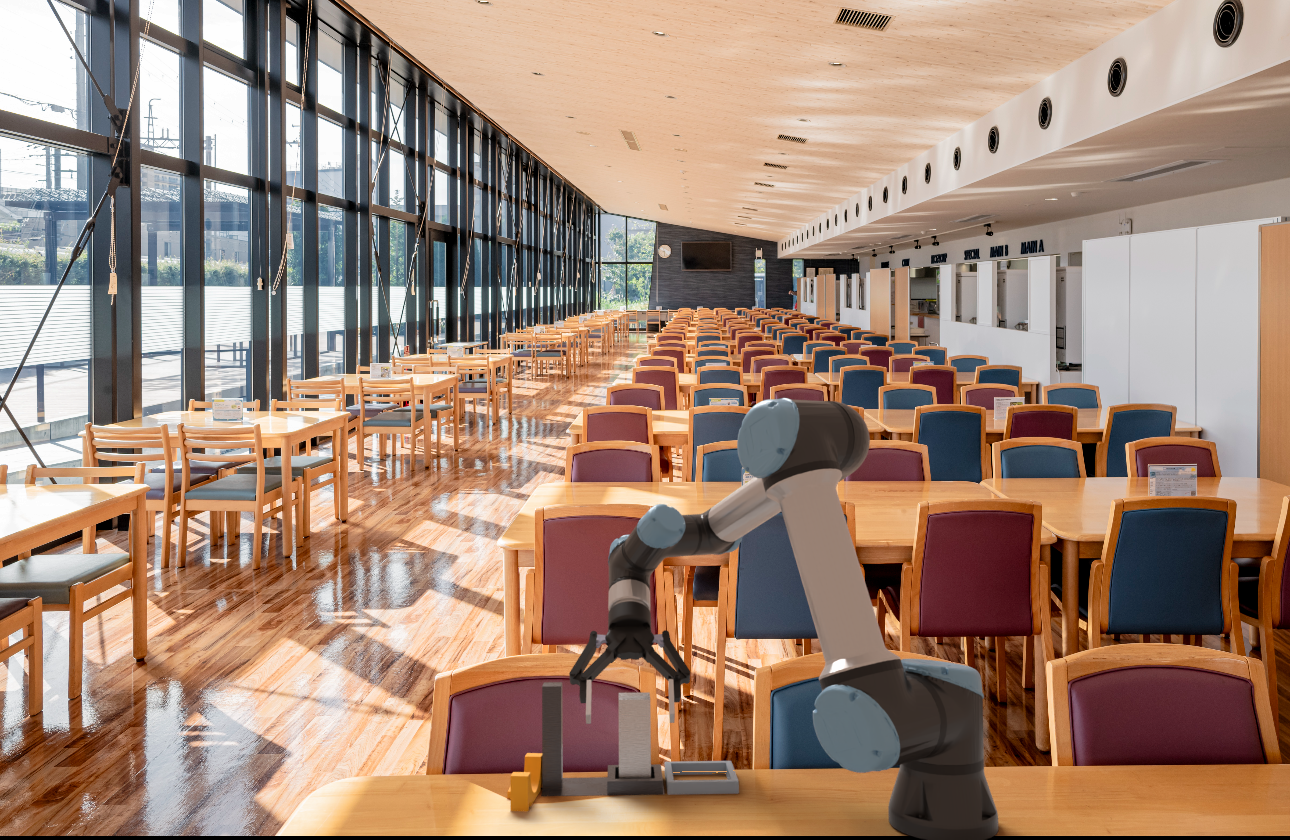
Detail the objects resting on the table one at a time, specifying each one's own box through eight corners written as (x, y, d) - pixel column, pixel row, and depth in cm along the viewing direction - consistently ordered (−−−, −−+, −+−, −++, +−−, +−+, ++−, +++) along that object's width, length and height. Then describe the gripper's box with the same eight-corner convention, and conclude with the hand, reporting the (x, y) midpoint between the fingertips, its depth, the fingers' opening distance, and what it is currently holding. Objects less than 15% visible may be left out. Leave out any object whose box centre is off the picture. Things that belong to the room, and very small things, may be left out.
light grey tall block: (650, 780, 163) (649, 692, 163) (651, 790, 158) (650, 699, 158) (619, 780, 163) (618, 692, 163) (619, 790, 158) (618, 699, 158)
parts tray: (731, 779, 167) (731, 760, 167) (738, 801, 156) (738, 781, 156) (664, 780, 167) (664, 761, 167) (667, 802, 156) (667, 782, 156)
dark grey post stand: (662, 783, 165) (661, 677, 166) (664, 802, 156) (663, 689, 157) (545, 785, 164) (545, 678, 165) (540, 804, 155) (540, 690, 156)
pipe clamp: (516, 794, 161) (516, 752, 161) (543, 794, 160) (543, 753, 161) (498, 820, 149) (498, 775, 149) (527, 820, 149) (527, 776, 149)
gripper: (698, 624, 182) (706, 730, 167) (560, 625, 182) (554, 731, 166) (700, 598, 177) (708, 705, 162) (558, 599, 177) (552, 707, 161)
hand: (630, 719), depth 164 cm, fingers open, 13 cm apart
